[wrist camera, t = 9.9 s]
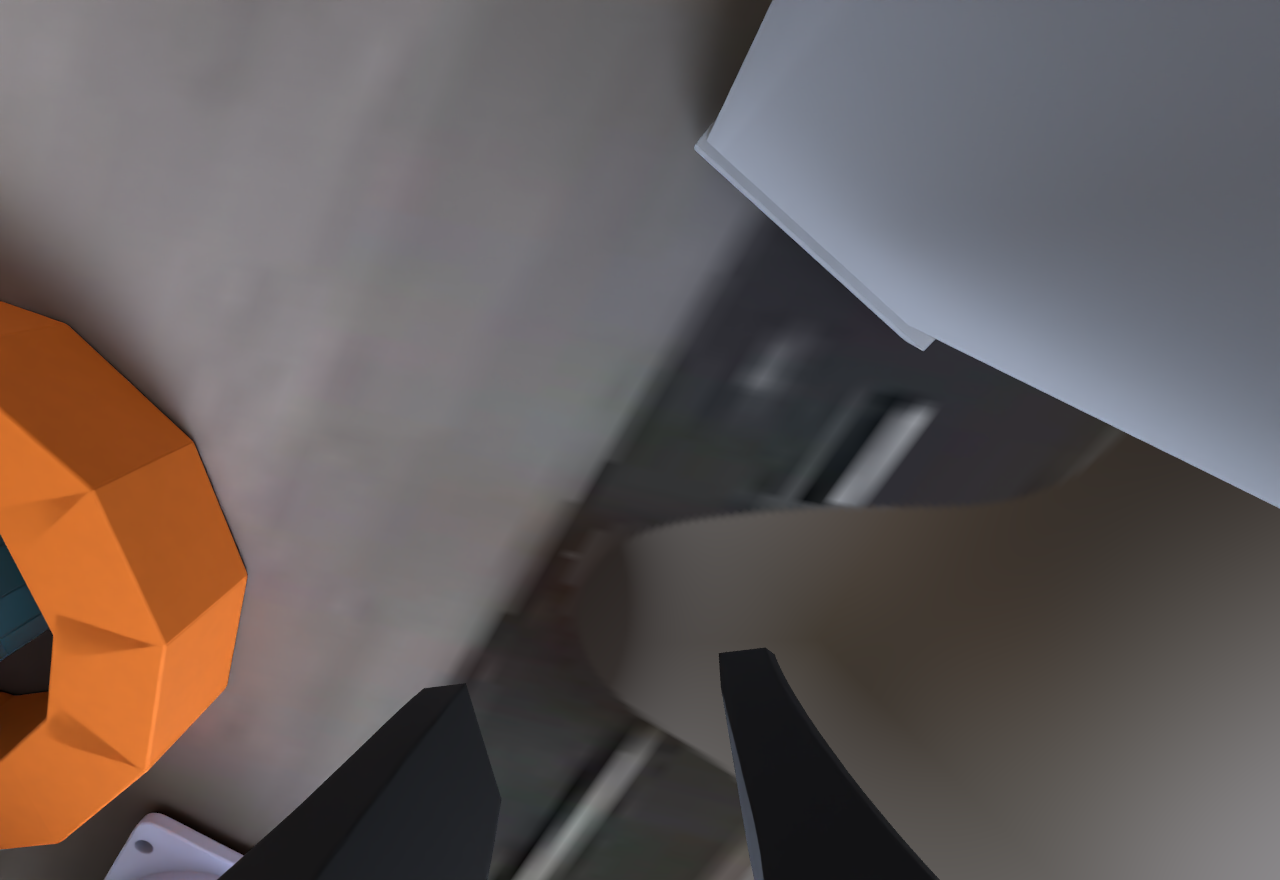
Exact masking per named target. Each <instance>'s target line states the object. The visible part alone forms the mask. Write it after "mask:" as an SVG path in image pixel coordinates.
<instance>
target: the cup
mask: <svg viewBox="0 0 1280 880" xmlns="http://www.w3.org/2000/svg"><path fill="white" fill-rule="evenodd" d="M48 629H50V628H49V626H48V624H47V623H46V621H45V619H44V617H43V615H42V613H41V611H40V609H39V607H38V605H37V603H36V602H35V600H34V598H33V596H32V594H31V592H30V590H29V588H28V586H27V584H26V582H25V581H24V579H23V577H22V575H21V573H20V571H19V569H18V567H17V565H16V563H15V561H14V559H13V558H12V556H11V554H10V552H9V550H8V548H7V546H6V544H5V542H4V540H3V538H2V537H1V535H0V661H2V660H3V659H5V658H6V657H8V656H9V655H11V654H12V653H14V652H15V651H17V650H18V649H20V648H21V647H23V646H24V645H26V644H27V643H29V642H30V641H32V640H33V639H35V638H36V637H38V636H39V635H41V634H42V633H44V632H45V631H47V630H48Z"/></svg>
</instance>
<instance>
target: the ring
mask: <svg viewBox="0 0 1280 880" xmlns="http://www.w3.org/2000/svg"><path fill="white" fill-rule="evenodd" d="M0 535H1V537H2V538H3V540H4V542H5V544H6V546H7V548H8V550H9V552H10V554H11V556H12V558H13V559H14V561H15V563H16V565H17V567H18V569H19V571H20V573H21V575H22V577H23V579H24V581H25V582H26V584H27V586H28V588H29V590H30V592H31V594H32V596H33V598H34V600H35V602H36V603H37V605H38V607H39V609H40V611H41V613H42V615H43V617H44V619H45V621H46V623H47V624H48V626H49V628H50V630H51V632H52V634H53V643H52V656H51V668H50V681H49V691H48V692H40V693H32V694H25V695H17V696H14V695H11V694H8V693H5V692H1V691H0V849H10V848H20V847H29V846H39V845H48V844H58V843H60V842H61V841H63V840H65V839H66V838H67V837H68V836H69V835H71V834H72V833H73V832H74V831H75V830H77V829H78V828H79V827H80V826H81V825H83V824H84V823H85V822H86V821H88V820H89V819H90V818H91V817H92V816H94V815H95V814H96V813H97V812H98V811H100V810H101V809H102V808H103V807H105V806H106V805H107V804H108V803H109V802H111V801H112V800H113V799H114V798H115V797H117V796H118V795H119V794H120V793H122V792H123V791H124V790H125V789H126V788H128V787H129V786H130V785H131V784H132V783H134V782H135V781H136V780H137V779H139V778H140V777H141V776H142V775H143V774H145V773H146V772H147V771H148V770H149V769H150V768H151V767H152V766H153V765H154V764H155V763H156V762H157V761H158V760H159V759H160V757H161V756H162V755H163V754H164V753H165V752H166V751H167V750H168V749H169V748H170V747H171V746H172V745H173V744H174V743H175V742H176V740H177V739H178V738H179V737H180V736H181V735H182V734H183V733H184V732H185V731H186V730H187V729H188V728H189V727H190V726H191V725H192V723H193V722H194V721H195V720H196V719H197V718H198V717H199V716H200V715H201V714H202V713H203V712H204V711H205V710H206V709H207V708H208V706H209V705H210V704H211V703H212V702H213V701H214V700H215V699H216V698H217V697H218V696H219V695H220V694H221V693H222V692H223V691H224V689H225V688H226V686H227V683H228V678H229V672H230V667H231V662H232V656H233V651H234V645H235V640H236V635H237V629H238V624H239V619H240V613H241V608H242V603H243V597H244V592H245V586H246V581H247V572H246V569H245V567H244V564H243V562H242V559H241V557H240V555H239V552H238V550H237V547H236V545H235V542H234V540H233V537H232V535H231V532H230V530H229V528H228V525H227V523H226V520H225V518H224V515H223V513H222V510H221V508H220V505H219V503H218V500H217V498H216V496H215V493H214V491H213V488H212V486H211V483H210V481H209V478H208V476H207V473H206V471H205V469H204V466H203V464H202V461H201V459H200V456H199V454H198V451H197V449H196V446H195V444H194V442H193V441H192V440H191V439H190V438H189V437H188V436H187V435H186V434H185V433H184V432H182V431H181V430H180V429H179V428H178V427H177V426H176V425H175V424H174V423H173V422H172V421H171V420H170V419H168V418H167V417H166V416H165V415H164V414H163V413H162V412H161V411H160V410H159V409H158V408H157V407H156V406H155V405H153V404H152V403H151V402H150V401H149V400H148V399H147V398H146V397H145V396H144V395H143V394H142V393H141V392H139V391H138V390H137V389H136V388H135V387H134V386H133V385H132V384H131V383H130V382H129V381H128V380H127V379H125V378H124V377H123V376H122V375H121V374H120V373H119V372H118V371H117V370H116V369H115V368H114V367H113V366H112V365H110V364H109V363H108V362H107V361H106V360H105V359H104V358H103V357H102V356H101V355H100V354H99V353H98V352H96V351H95V350H94V349H93V348H92V347H91V346H90V345H89V344H88V343H87V342H86V341H85V340H84V339H82V338H81V337H80V336H79V335H78V334H77V333H76V332H75V331H74V330H73V329H72V328H71V327H70V326H68V325H67V324H65V323H63V322H60V321H57V320H54V319H51V318H48V317H45V316H43V315H40V314H37V313H34V312H31V311H28V310H25V309H22V308H19V307H17V306H14V305H11V304H8V303H5V302H2V301H0Z"/></svg>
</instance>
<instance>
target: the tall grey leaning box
mask: <svg viewBox="0 0 1280 880" xmlns="http://www.w3.org/2000/svg"><path fill="white" fill-rule="evenodd" d="M694 150H695V151H696V152H698V153H699V154H700V155H701V156H702V157H703V158H704V159H705V160H706V161H707V162H709V163H710V164H711V165H712V166H713V167H714V168H715V169H716V170H717V171H718V172H720V173H721V174H722V175H723V176H724V177H725V178H726V179H727V180H728V181H729V182H731V183H732V184H733V185H734V186H735V187H736V188H737V189H738V190H739V191H741V192H742V193H743V194H744V195H745V196H746V197H747V198H748V199H749V200H750V201H752V202H753V203H754V204H755V205H756V206H757V207H758V208H759V209H760V210H761V211H763V212H764V213H765V214H766V215H767V216H768V217H769V218H770V219H771V220H772V221H774V222H775V223H776V224H777V225H778V226H779V227H780V228H781V229H782V230H784V231H785V232H786V233H787V234H788V235H789V236H790V237H791V238H792V239H793V240H795V241H796V242H797V243H798V244H799V245H800V246H801V247H802V248H803V249H804V250H806V251H807V252H808V253H809V254H810V255H811V256H812V257H813V258H814V259H815V260H817V261H818V262H819V263H820V264H821V265H822V266H823V267H824V268H825V269H827V270H828V271H829V272H830V273H831V274H832V275H833V276H834V277H835V278H836V279H838V280H839V281H840V282H841V283H842V284H843V285H844V286H845V287H846V288H847V289H849V290H850V291H851V292H852V293H853V294H854V295H855V296H856V297H857V298H858V299H860V300H861V301H862V302H863V303H864V304H865V305H866V306H867V307H868V308H869V309H871V310H872V311H873V312H874V313H875V314H876V315H877V316H878V317H879V318H881V319H882V320H883V321H884V322H885V323H886V324H887V325H888V326H889V327H890V328H892V329H893V330H894V331H895V332H896V333H897V334H898V335H899V336H900V337H901V338H903V339H904V340H905V341H906V342H908V343H910V344H912V345H913V346H915V347H917V348H919V349H921V350H922V351H924V350H925V349H926V348H927V347H928V346H929V345H930V344H931V343H932V342H933V341H934V340H935V339H937V340H939V341H941V342H943V343H945V344H947V345H949V346H951V347H953V348H956V349H958V350H960V351H962V352H964V353H966V354H968V355H970V356H972V357H974V358H976V359H978V360H980V361H982V362H984V363H986V364H988V365H990V366H992V367H994V368H996V369H998V370H1000V371H1002V372H1004V373H1006V374H1008V375H1010V376H1012V377H1014V378H1016V379H1018V380H1020V381H1023V382H1025V383H1027V384H1029V385H1031V386H1033V387H1035V388H1037V389H1039V390H1041V391H1043V392H1045V393H1047V394H1049V395H1051V396H1053V397H1055V398H1057V399H1059V400H1061V401H1063V402H1065V403H1067V404H1069V405H1071V406H1073V407H1075V408H1077V409H1079V410H1081V411H1083V412H1085V413H1087V414H1090V415H1092V416H1094V417H1096V418H1098V419H1100V420H1102V421H1104V422H1106V423H1108V424H1110V425H1112V426H1114V427H1116V428H1118V429H1120V430H1122V431H1124V432H1126V433H1128V434H1130V435H1132V436H1134V437H1136V438H1138V439H1140V440H1142V441H1144V442H1147V443H1148V444H1151V445H1152V446H1155V447H1157V448H1159V449H1161V450H1163V451H1165V452H1167V453H1169V454H1171V455H1173V456H1175V457H1177V458H1179V459H1181V460H1183V461H1185V462H1187V463H1189V464H1191V465H1193V466H1195V467H1197V468H1199V469H1201V470H1203V471H1205V472H1208V473H1209V474H1211V475H1213V476H1216V477H1218V478H1219V479H1221V480H1224V481H1226V482H1228V483H1230V484H1232V485H1234V486H1236V487H1238V488H1240V489H1242V490H1244V491H1246V492H1248V493H1250V494H1252V495H1254V496H1256V497H1258V498H1260V499H1262V500H1264V501H1266V502H1268V503H1270V504H1272V505H1274V506H1276V507H1278V508H1280V0H772V3H771V5H770V7H769V9H768V11H767V13H766V15H765V17H764V20H763V22H762V24H761V26H760V28H759V30H758V32H757V34H756V37H755V39H754V41H753V43H752V45H751V47H750V49H749V51H748V54H747V56H746V58H745V60H744V62H743V64H742V66H741V68H740V71H739V73H738V75H737V77H736V79H735V81H734V83H733V85H732V88H731V90H730V92H729V94H728V96H727V98H726V100H725V102H724V105H723V107H722V109H721V111H720V113H719V115H718V116H717V117H716V119H715V120H714V121H713V123H712V124H711V125H710V126H709V128H708V129H707V130H706V132H705V133H704V134H703V135H702V137H701V138H700V139H699V140H698V142H697V143H696V145H695V148H694Z"/></svg>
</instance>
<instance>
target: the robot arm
mask: <svg viewBox="0 0 1280 880" xmlns="http://www.w3.org/2000/svg"><path fill="white" fill-rule="evenodd" d="M719 663H720V680H721V690H722V696H723V702H724V708H725V714H726V719H727V725H728V732H729V738H730V744H731V750H732V755H733V762H734V768H735V773H736V779H737V785H738V791H739V797H740V803H741V809H742V815H743V821H744V827H745V833H746V839H747V845H748V851H749V857H750V861H751V866H752V871H753V876H754V880H939V879H938V878H937V876H935V874H934V873H933V872H932V871H931V870H930V869H929V868H928V867H927V866H926V865H925V864H924V863H923V861H922V860H921V859H920V858H919V857H918V856H917V854H916V853H915V852H914V851H913V850H912V849H911V848H910V847H909V845H908V844H907V843H906V842H905V841H904V840H903V839H902V837H901V836H900V835H899V834H898V833H897V832H896V831H895V829H894V828H893V827H892V826H891V825H890V823H889V822H888V821H887V820H886V819H885V817H884V816H883V815H882V814H881V812H880V811H879V810H878V809H877V808H876V807H875V805H874V804H873V803H872V802H871V800H870V799H869V798H868V797H867V796H866V794H865V793H864V792H863V791H862V789H861V788H860V787H859V785H858V784H857V783H856V782H855V780H854V779H853V778H852V776H851V775H850V774H849V773H848V771H847V770H846V769H845V767H844V766H843V764H842V763H841V762H840V760H839V759H838V758H837V756H836V755H835V754H834V752H833V751H832V749H831V748H830V747H829V745H828V744H827V743H826V741H825V740H824V739H823V737H822V736H821V734H820V733H819V731H818V730H817V728H816V727H815V726H814V724H813V723H812V721H811V720H810V718H809V717H808V715H807V714H806V712H805V710H804V709H803V707H802V705H801V704H800V702H799V701H798V699H797V698H796V696H795V694H794V692H793V691H792V689H791V687H790V686H789V684H788V682H787V680H786V679H785V676H784V675H783V673H782V671H781V669H780V666H779V664H778V662H777V660H776V657H775V655H774V654H773V653H772V652H771V651H769V650H768V649H766V648H759V649H750V650H742V651H733V652H725V653H719ZM500 804H501V797H500V794H499V790H498V787H497V784H496V781H495V777H494V774H493V771H492V768H491V764H490V761H489V758H488V755H487V751H486V748H485V745H484V742H483V738H482V735H481V732H480V729H479V725H478V722H477V719H476V716H475V712H474V709H473V706H472V702H471V699H470V696H469V693H468V689H467V686H466V684H458V685H449V686H441V687H432V688H424V689H423V690H421V691H420V692H419V693H418V694H417V695H416V696H414V697H413V698H412V699H411V700H410V701H409V702H408V703H407V704H405V705H404V706H403V707H402V708H401V709H400V710H399V711H398V712H397V713H396V714H395V715H394V716H393V717H392V718H390V719H389V720H388V721H387V722H386V723H385V724H384V725H383V726H382V727H381V728H380V729H379V730H378V731H377V732H376V733H375V734H374V735H373V736H372V737H371V738H370V739H369V740H368V741H367V742H366V743H365V744H363V745H362V746H361V747H360V748H359V749H358V750H357V751H356V752H355V753H354V754H353V755H352V756H351V757H350V758H349V759H348V760H347V761H346V762H345V763H344V764H343V765H342V766H341V767H340V768H339V769H337V770H336V771H335V772H334V773H333V774H332V775H331V776H330V777H329V778H328V779H327V780H326V781H325V782H324V783H323V784H322V785H321V786H320V787H319V788H318V789H316V790H315V791H314V792H313V793H312V794H311V795H310V796H309V797H308V798H307V799H306V800H305V801H304V802H303V803H302V804H301V805H300V806H299V807H298V808H296V809H295V810H294V811H293V812H292V813H291V814H290V815H289V816H288V817H287V818H285V819H284V820H283V821H282V822H281V823H280V824H279V825H278V826H276V827H275V828H274V829H273V830H272V831H271V832H270V833H269V834H268V835H266V836H265V837H264V838H263V839H262V840H261V841H260V842H259V843H257V844H256V845H255V846H254V847H253V848H252V849H251V850H250V851H249V852H247V853H246V854H245V855H242V854H240V853H238V852H236V851H234V850H232V849H230V848H228V847H226V846H224V845H222V844H220V843H218V842H216V841H215V840H213V839H211V838H209V837H207V836H205V835H203V834H201V833H199V832H197V831H195V830H193V829H191V828H189V827H187V826H185V825H183V824H182V823H180V822H178V821H176V820H174V819H172V818H170V817H168V816H166V815H163V814H161V813H150V814H147V815H146V816H145V817H144V818H143V819H142V820H141V821H140V822H139V823H138V824H137V825H136V827H135V828H134V830H133V831H132V833H131V835H130V837H129V838H128V840H127V842H126V843H125V845H124V847H123V848H122V850H121V852H120V853H119V855H118V857H117V859H116V860H115V862H114V864H113V865H112V867H111V869H110V870H109V872H108V874H107V875H106V877H105V879H104V880H487V879H488V874H489V868H490V863H491V858H492V852H493V847H494V842H495V835H496V829H497V823H498V817H499V810H500Z"/></svg>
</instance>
